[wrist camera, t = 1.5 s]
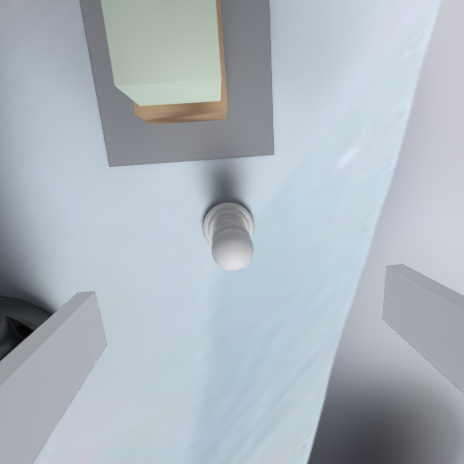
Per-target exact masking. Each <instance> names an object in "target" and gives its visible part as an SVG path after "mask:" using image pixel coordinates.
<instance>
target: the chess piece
mask: <svg viewBox="0 0 464 464" xmlns="http://www.w3.org/2000/svg"><path fill="white" fill-rule="evenodd" d="M203 233H204V237H205V239H206V241H207V242H208V244H209V245H210V246H211V247H212V255H213V258H214V260H215V262H216V263H217V264H218V265H219V266H220V267H221V268H223V269H225V270H230V271H234V270H239V269H242V268H244V267H245V266H247V265H248V264H249V263H250V261H251V259H252V257H253V243H252V241H251V239H252V237H253V234H254V221H253V218H252V216H251V214H250V213H249V212H248V211H247V210H246V209H245V208H244V207H242V206H241V205H239V204H236V203H222V204H219V205H217V206H215V207H214V208H212V209H211V210H210V211H209V212H208V213H207V215H206V217H205V219H204V222H203Z"/></svg>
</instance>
